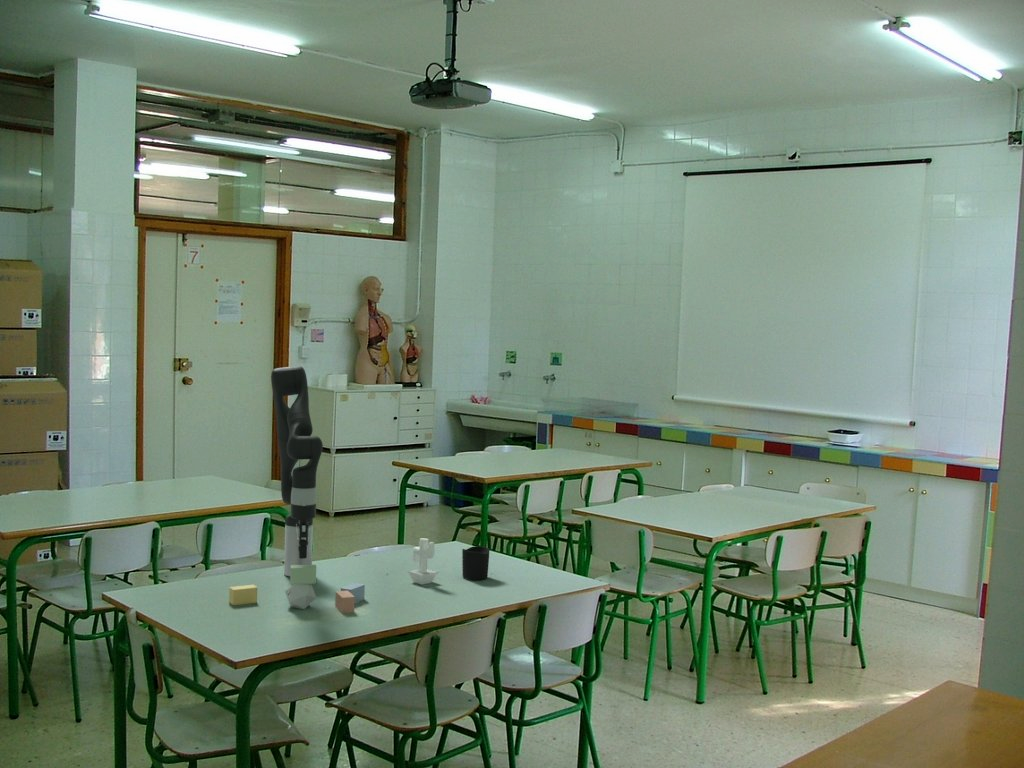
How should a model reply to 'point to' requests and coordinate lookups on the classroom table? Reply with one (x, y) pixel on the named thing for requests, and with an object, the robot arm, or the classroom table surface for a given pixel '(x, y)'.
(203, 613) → the classroom table surface
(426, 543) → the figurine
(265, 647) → the classroom table surface
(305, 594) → the die
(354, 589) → the slate brick
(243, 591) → the ochre brick
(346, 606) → the terracotta brick
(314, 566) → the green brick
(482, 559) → the pen holder
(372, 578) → the classroom table surface
